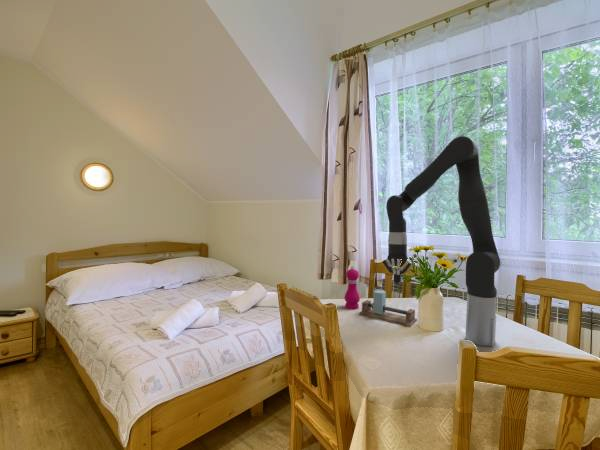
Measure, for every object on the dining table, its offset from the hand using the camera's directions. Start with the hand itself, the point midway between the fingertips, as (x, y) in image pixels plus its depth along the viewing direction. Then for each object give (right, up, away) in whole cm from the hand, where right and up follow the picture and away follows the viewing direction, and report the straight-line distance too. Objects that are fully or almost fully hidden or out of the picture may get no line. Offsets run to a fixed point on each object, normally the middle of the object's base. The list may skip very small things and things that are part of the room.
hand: (397, 283), depth 138 cm
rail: (-3, -16, +4) cm, 17 cm away
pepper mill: (-17, -15, +18) cm, 28 cm away
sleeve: (-6, -14, +6) cm, 17 cm away
